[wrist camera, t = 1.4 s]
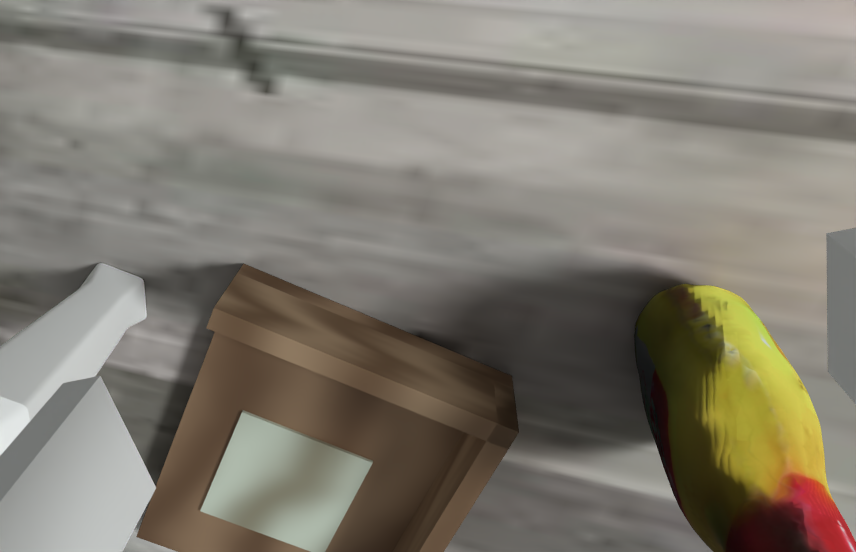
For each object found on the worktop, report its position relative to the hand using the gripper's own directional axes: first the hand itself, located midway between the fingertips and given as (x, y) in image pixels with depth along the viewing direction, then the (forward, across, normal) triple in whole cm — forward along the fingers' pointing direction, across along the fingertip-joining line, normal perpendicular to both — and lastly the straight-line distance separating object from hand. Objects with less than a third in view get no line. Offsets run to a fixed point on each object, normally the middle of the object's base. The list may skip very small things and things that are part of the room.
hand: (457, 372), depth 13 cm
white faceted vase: (+24, -21, -6) cm, 32 cm away
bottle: (+24, +9, -17) cm, 31 cm away
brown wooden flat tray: (+24, -13, -19) cm, 33 cm away
